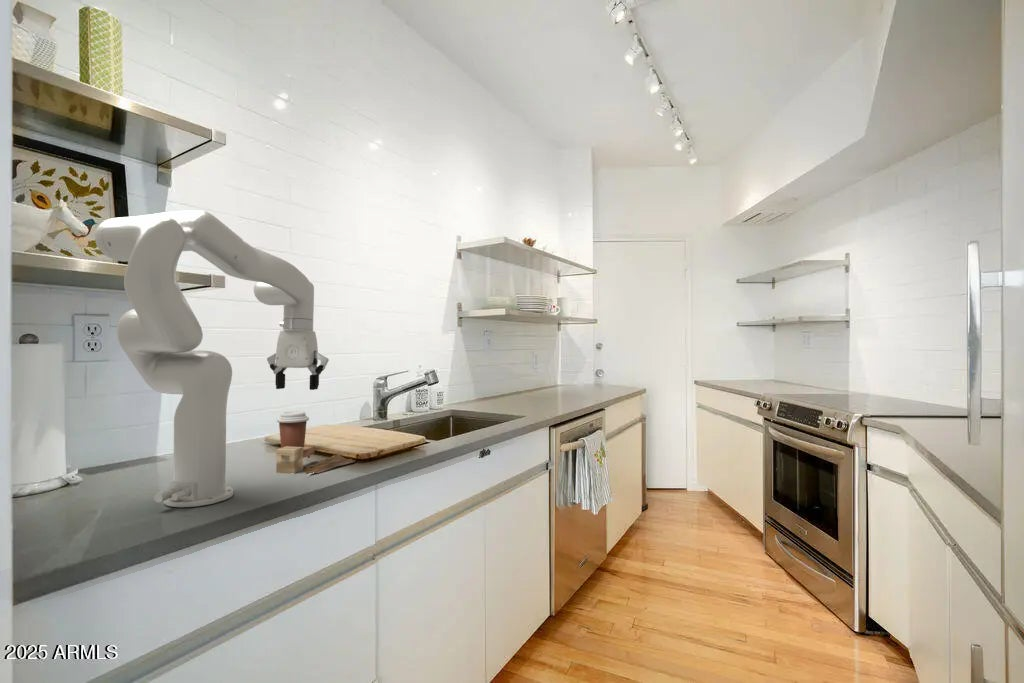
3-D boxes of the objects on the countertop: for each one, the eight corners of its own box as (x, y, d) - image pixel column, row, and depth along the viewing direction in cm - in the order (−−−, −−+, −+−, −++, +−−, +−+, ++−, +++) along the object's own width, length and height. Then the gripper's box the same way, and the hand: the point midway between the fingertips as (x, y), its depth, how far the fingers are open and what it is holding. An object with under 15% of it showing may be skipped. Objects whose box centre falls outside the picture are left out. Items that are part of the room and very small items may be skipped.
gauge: (294, 473, 129) (294, 450, 129) (276, 472, 130) (276, 449, 130) (318, 462, 141) (319, 441, 141) (302, 462, 142) (302, 440, 142)
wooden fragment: (340, 454, 154) (340, 450, 154) (373, 456, 151) (373, 453, 151) (283, 475, 128) (283, 471, 128) (322, 479, 126) (322, 474, 126)
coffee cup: (269, 452, 153) (270, 413, 154) (294, 447, 162) (295, 409, 162) (290, 456, 149) (290, 415, 149) (315, 450, 157) (315, 411, 157)
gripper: (260, 325, 135) (258, 389, 134) (321, 325, 132) (319, 390, 132) (277, 326, 142) (275, 387, 142) (335, 327, 140) (333, 388, 140)
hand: (297, 389), depth 137 cm, fingers open, 9 cm apart
